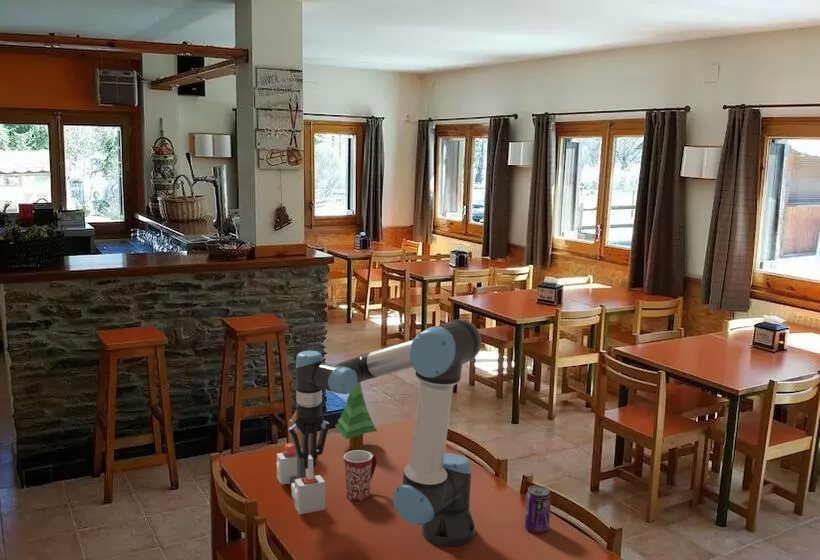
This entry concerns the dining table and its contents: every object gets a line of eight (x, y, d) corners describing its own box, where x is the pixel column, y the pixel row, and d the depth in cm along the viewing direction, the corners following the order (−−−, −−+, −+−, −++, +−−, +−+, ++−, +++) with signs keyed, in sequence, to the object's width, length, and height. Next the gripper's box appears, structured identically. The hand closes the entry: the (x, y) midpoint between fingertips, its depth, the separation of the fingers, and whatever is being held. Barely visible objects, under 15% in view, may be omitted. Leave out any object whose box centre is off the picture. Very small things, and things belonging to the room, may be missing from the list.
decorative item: (303, 449, 266) (303, 397, 262) (314, 455, 261) (314, 402, 257) (288, 454, 261) (287, 401, 258) (298, 460, 257) (298, 406, 253)
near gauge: (317, 488, 221) (317, 479, 221) (305, 491, 220) (305, 481, 219) (313, 483, 224) (313, 474, 224) (302, 485, 223) (302, 476, 222)
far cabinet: (304, 481, 241) (304, 455, 239) (280, 485, 237) (280, 459, 236) (300, 475, 245) (300, 449, 244) (276, 479, 242) (275, 453, 240)
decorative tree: (382, 441, 274) (383, 364, 269) (362, 457, 260) (363, 376, 255) (350, 435, 280) (350, 359, 274) (329, 450, 266) (329, 370, 260)
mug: (358, 505, 225) (358, 464, 223) (337, 496, 231) (337, 456, 229) (385, 491, 235) (386, 452, 232) (365, 482, 241) (365, 444, 238)
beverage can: (543, 537, 209) (545, 498, 207) (520, 530, 213) (522, 491, 211) (552, 526, 215) (554, 488, 213) (530, 519, 219) (532, 482, 217)
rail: (310, 503, 226) (310, 496, 225) (304, 505, 225) (304, 497, 225) (296, 483, 240) (295, 475, 239) (290, 484, 239) (289, 476, 238)
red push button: (297, 455, 239) (297, 446, 238) (286, 457, 237) (286, 448, 237) (294, 451, 242) (294, 442, 242) (283, 452, 241) (283, 444, 240)
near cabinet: (325, 509, 223) (325, 481, 221) (298, 514, 219) (298, 486, 218) (319, 502, 227) (319, 474, 225) (294, 507, 224) (293, 479, 222)
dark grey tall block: (315, 500, 228) (315, 451, 225) (296, 504, 225) (296, 454, 222) (309, 492, 233) (309, 444, 230) (291, 495, 231) (290, 447, 228)
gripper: (326, 396, 223) (326, 468, 227) (284, 401, 218) (285, 476, 222) (334, 404, 217) (334, 478, 221) (291, 410, 211) (292, 486, 215)
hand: (309, 477), depth 221 cm, fingers closed
